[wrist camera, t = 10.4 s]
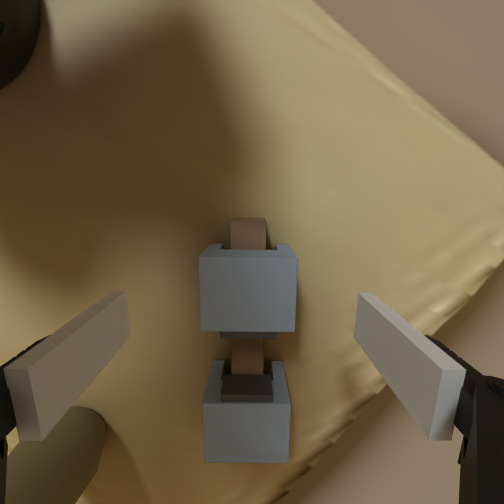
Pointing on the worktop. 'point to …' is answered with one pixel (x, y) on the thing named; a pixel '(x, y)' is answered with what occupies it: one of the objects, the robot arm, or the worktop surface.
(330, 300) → the worktop surface
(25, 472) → the squeeze bottle
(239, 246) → the rail
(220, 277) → the grey cube block
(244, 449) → the slider block
